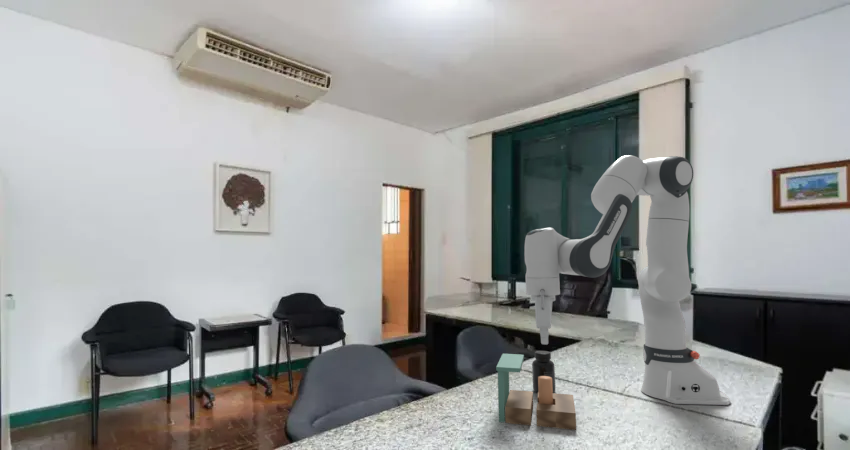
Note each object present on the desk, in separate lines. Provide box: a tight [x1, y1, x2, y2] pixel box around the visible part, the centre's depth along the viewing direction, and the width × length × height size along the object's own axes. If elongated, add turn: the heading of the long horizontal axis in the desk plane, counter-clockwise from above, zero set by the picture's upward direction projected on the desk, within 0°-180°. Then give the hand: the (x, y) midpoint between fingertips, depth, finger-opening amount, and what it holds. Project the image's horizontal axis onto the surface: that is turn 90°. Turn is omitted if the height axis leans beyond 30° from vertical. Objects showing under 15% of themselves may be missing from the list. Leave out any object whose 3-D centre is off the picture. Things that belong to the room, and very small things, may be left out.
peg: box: [538, 376, 553, 405], centre depth 113 cm, size 4×4×10 cm
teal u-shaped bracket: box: [495, 353, 525, 423], centre depth 115 cm, size 6×15×14 cm, turn 164°
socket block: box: [505, 389, 577, 431], centre depth 113 cm, size 17×14×4 cm
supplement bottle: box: [531, 350, 556, 394], centre depth 133 cm, size 7×7×12 cm
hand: (545, 340), depth 114 cm, fingers open, 8 cm apart
